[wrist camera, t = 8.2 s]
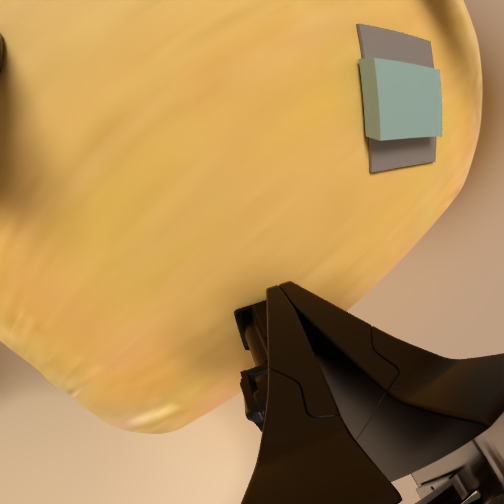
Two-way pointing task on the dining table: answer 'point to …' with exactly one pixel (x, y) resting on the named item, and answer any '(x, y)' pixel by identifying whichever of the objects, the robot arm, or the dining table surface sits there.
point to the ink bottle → (1, 51)
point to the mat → (408, 51)
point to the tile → (400, 99)
